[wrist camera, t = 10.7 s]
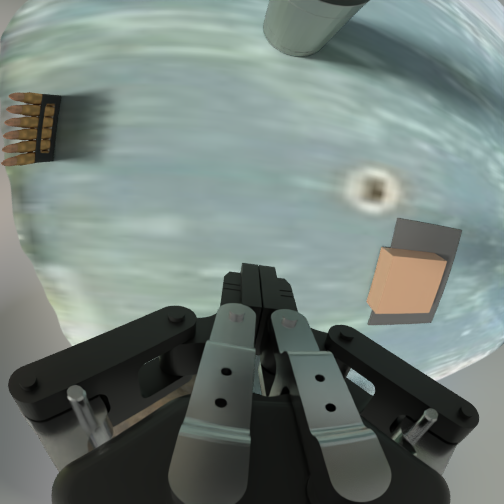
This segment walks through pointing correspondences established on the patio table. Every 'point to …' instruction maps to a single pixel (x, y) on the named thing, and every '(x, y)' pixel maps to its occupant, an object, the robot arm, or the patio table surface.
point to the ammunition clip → (33, 128)
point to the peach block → (405, 281)
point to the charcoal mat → (424, 240)
